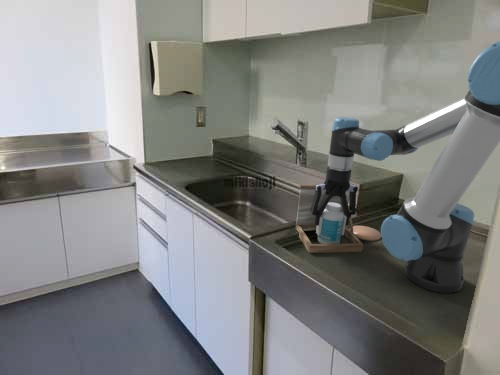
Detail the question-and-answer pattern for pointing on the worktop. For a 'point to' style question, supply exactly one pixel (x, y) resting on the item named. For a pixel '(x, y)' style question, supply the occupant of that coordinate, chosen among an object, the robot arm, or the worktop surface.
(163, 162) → the worktop surface
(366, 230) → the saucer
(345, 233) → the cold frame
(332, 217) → the pill bottle
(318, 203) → the robot arm
